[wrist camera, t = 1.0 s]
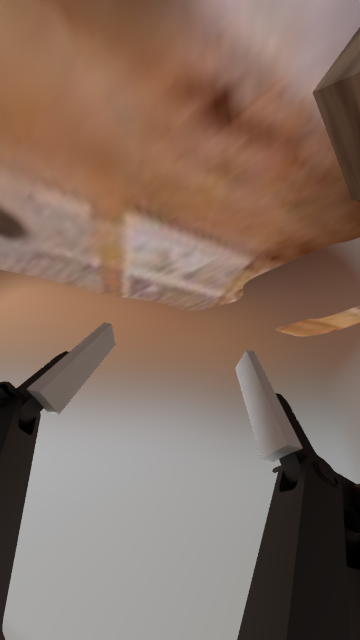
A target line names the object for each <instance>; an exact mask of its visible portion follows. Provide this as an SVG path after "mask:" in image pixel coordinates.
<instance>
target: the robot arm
mask: <svg viewBox="0 0 360 640" xmlns="http://www.w3.org/2000/svg"><path fill="white" fill-rule="evenodd" d="M114 346H115V340H114V334H113V329H112V324H109V323H103V324H102V325H101V326H99V327H98V328H97V329H96V330H95V331H94V332H92V333H91V334H90V335H89V336H88V337H87V338H85V339H84V340H83V341H82V342H81V343H80V344H78V345H77V346H76V347H75V348H74V349H73V350H72V351H70V352H67V351H65V352H63V353H62V354H59V355H58V356H56V357H55V358H54V359H52V360H51V361H50V363H47V364H46V365H45V366H44V367H43V368H41V369H40V370H39V371H38V372H37V373H35V374H34V375H33V376H31V377H30V378H29V379H28V380H27V381H25V382H24V383H23V384H21V385H20V386H19V387H18V388H15V387H14V386H13V385H12V384H11V383H9V382H0V640H5V638H4V635H3V632H2V624H3V616H4V611H5V606H6V600H7V594H8V589H9V584H10V579H11V573H12V567H13V562H14V557H15V551H16V546H17V541H18V535H19V530H20V524H21V519H22V513H23V508H24V503H25V497H26V492H27V487H28V481H29V476H30V470H31V465H32V460H33V454H34V449H35V443H36V438H37V433H38V426H39V422H40V416H41V415H40V411H41V410H42V409H43V408H44V409H45V410H46V411H47V412H51V413H55V414H60V412H61V411H62V410H63V409H64V408H65V406H66V405H67V404H68V403H69V401H70V400H71V399H72V398H73V396H74V395H75V394H76V393H77V391H78V390H79V389H80V388H81V386H82V385H83V384H84V383H85V382H86V380H87V379H88V378H89V377H90V375H91V374H92V373H93V372H94V370H95V369H96V368H97V367H98V366H99V364H100V363H101V362H102V361H103V359H104V358H105V357H106V355H107V354H108V353H109V352H110V351H111V349H112V348H113V347H114ZM235 369H236V373H237V376H238V380H239V383H240V387H241V390H242V394H243V397H244V401H245V404H246V407H247V411H248V414H249V418H250V421H251V425H252V428H253V432H254V436H255V439H256V443H257V446H258V450H259V453H260V457H261V459H265V460H269V461H276V460H278V459H279V460H280V463H281V466H278V467H276V468H274V469H273V472H274V473H276V472H278V475H277V479H276V483H275V487H274V492H273V496H272V500H271V504H270V508H269V512H268V516H267V520H266V524H265V529H264V533H263V537H262V541H261V545H260V549H259V553H258V557H257V561H256V566H255V569H254V573H253V577H252V581H251V585H250V590H249V594H248V598H247V602H246V606H245V610H244V615H243V618H242V622H241V626H240V631H239V635H238V639H237V640H360V484H355V483H354V482H352V481H350V480H348V479H347V478H345V477H343V476H341V475H340V474H338V473H336V472H335V471H334V470H333V469H332V468H331V466H330V465H329V464H328V463H327V462H325V460H324V459H322V458H321V457H319V456H318V455H317V454H316V452H315V451H314V449H313V448H312V446H311V444H310V442H309V440H308V438H307V437H306V435H305V433H304V431H303V429H302V427H301V426H300V424H299V422H298V420H296V417H295V415H294V413H293V412H292V409H291V408H290V406H289V404H288V402H287V401H286V400H285V399H284V398H283V396H282V395H281V394H277V393H275V392H274V390H273V388H272V386H271V384H270V382H269V380H268V378H267V376H266V374H265V372H264V370H263V368H262V366H261V364H260V362H259V360H258V358H257V356H256V354H255V352H254V351H249V350H246V351H245V353H244V354H243V356H242V358H241V360H240V361H239V363H238V365H237V366H236V368H235Z"/></svg>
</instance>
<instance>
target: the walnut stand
mask: <svg viewBox="0 0 360 640" xmlns="http://www.w3.org/2000/svg"><path fill="white" fill-rule="evenodd" d="M313 94H314V97H315V100H316V102H317V105H318V108H319V110H320V113H321V116H322V119H323V121H324V124H325V127H326V129H327V132H328V135H329V137H330V140H331V143H332V145H333V148H334V151H335V154H336V156H337V159H338V162H339V164H340V167H341V170H342V172H343V175H344V178H345V180H346V183H347V186H348V188H349V191H350V194H351V197H352V199H355V200H359V201H360V28H359V29H358V31H357V32H356V33H355V35H354V36H353V38H352V39H351V40H350V42H349V43H348V44H347V46H346V47H345V49H344V50H343V51H342V53H341V54H340V55H339V57H338V58H337V60H336V61H335V62H334V64H333V65H332V66H331V68H330V69H329V71H328V72H327V73H326V75H325V76H324V77H323V79H322V80H321V82H320V83H319V84H318V86H317V87H316V88H315V90H314V91H313Z"/></svg>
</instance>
